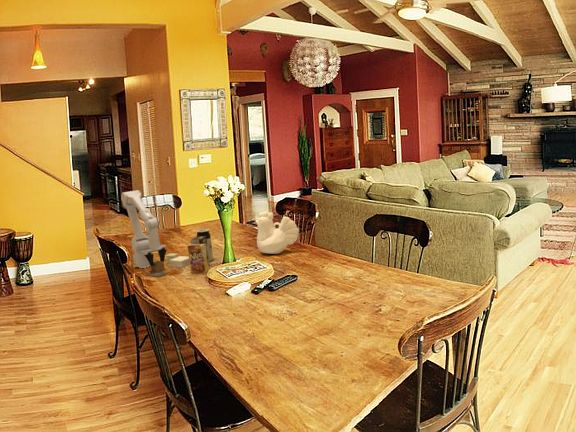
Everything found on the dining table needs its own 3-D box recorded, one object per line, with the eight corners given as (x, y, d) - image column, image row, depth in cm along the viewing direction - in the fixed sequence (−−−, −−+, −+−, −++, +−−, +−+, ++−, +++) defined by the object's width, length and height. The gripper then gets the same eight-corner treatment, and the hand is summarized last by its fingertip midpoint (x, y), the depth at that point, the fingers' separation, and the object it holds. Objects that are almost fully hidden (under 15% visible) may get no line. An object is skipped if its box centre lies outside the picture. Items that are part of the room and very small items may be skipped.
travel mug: (196, 262, 312) (193, 231, 309) (203, 258, 319) (200, 228, 316) (208, 262, 309) (205, 231, 306) (215, 258, 316) (212, 228, 313)
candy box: (190, 273, 290) (186, 245, 287) (193, 270, 294) (190, 243, 291) (205, 273, 287) (202, 245, 284) (208, 270, 291) (205, 243, 288)
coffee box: (204, 268, 298) (201, 239, 295) (193, 268, 299) (189, 239, 296) (210, 263, 307) (206, 235, 304) (199, 263, 308) (195, 236, 305)
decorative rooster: (253, 256, 314) (249, 214, 310) (265, 249, 328) (261, 209, 324) (293, 257, 304) (289, 213, 300) (303, 250, 318) (299, 208, 314)
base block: (170, 266, 308) (169, 260, 308) (181, 262, 316) (180, 256, 315) (181, 268, 303) (181, 261, 303) (192, 263, 311) (192, 257, 310)
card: (145, 275, 292) (145, 274, 292) (155, 272, 298) (155, 271, 298) (158, 277, 287) (158, 276, 287) (168, 273, 292) (168, 273, 292)
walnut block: (151, 271, 300) (150, 263, 299) (158, 269, 304) (157, 260, 303) (157, 272, 297) (156, 263, 296) (164, 270, 301) (163, 261, 300)
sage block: (167, 264, 315) (166, 255, 314) (171, 261, 319) (170, 253, 318) (175, 263, 313) (174, 255, 312) (179, 261, 318) (177, 253, 317)
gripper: (148, 243, 289) (152, 268, 292) (168, 237, 301) (172, 261, 303) (139, 242, 293) (143, 267, 296) (160, 236, 305) (163, 260, 307)
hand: (157, 264), depth 300 cm, fingers open, 7 cm apart
